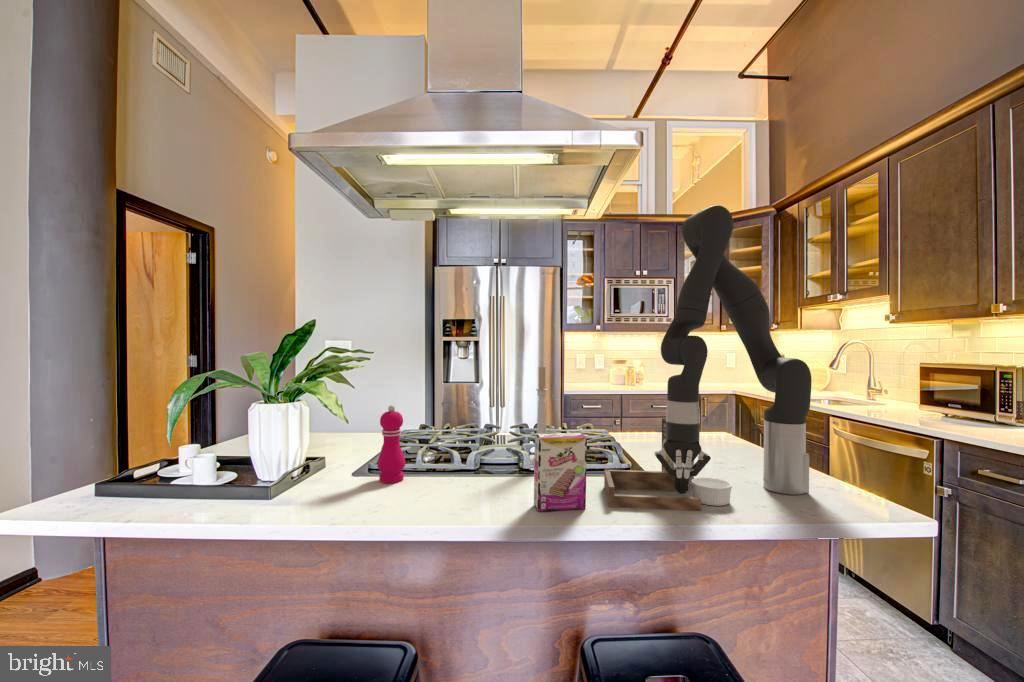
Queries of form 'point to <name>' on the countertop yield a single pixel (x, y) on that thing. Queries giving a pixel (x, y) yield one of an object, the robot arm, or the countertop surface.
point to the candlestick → (541, 407)
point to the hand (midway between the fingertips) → (681, 492)
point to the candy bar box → (560, 471)
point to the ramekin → (711, 491)
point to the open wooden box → (645, 482)
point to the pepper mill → (391, 448)
